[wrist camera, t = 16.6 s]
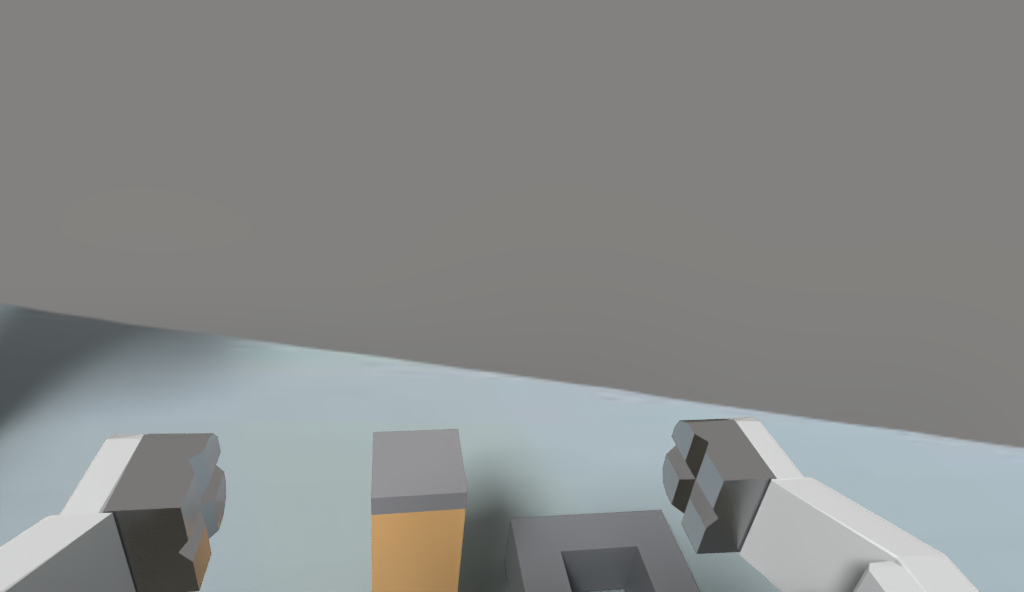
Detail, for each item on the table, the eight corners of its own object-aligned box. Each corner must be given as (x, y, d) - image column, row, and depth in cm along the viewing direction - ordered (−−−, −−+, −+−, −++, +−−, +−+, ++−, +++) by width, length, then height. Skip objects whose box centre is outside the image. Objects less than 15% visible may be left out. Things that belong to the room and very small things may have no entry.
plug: (372, 688, 31) (371, 498, 25) (374, 616, 35) (373, 432, 28) (449, 678, 32) (467, 492, 26) (443, 609, 36) (457, 428, 29)
